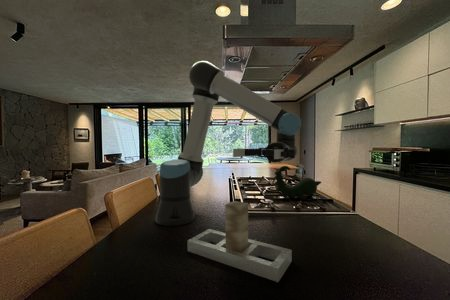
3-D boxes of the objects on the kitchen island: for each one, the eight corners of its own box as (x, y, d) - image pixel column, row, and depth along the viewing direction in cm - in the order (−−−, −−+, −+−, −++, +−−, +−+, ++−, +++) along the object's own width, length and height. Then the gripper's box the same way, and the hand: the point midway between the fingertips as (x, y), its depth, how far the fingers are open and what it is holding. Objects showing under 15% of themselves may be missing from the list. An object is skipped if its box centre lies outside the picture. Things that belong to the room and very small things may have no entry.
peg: (225, 257, 58) (225, 204, 57) (234, 250, 61) (233, 200, 61) (240, 262, 55) (240, 206, 55) (248, 254, 59) (248, 203, 59)
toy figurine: (279, 203, 117) (326, 199, 118) (276, 167, 117) (323, 163, 117) (275, 199, 127) (318, 195, 127) (272, 166, 126) (315, 161, 127)
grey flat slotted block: (187, 251, 61) (187, 240, 61) (209, 238, 70) (209, 228, 69) (278, 282, 47) (278, 268, 47) (291, 261, 55) (291, 249, 55)
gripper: (311, 163, 77) (295, 168, 59) (248, 160, 91) (219, 163, 73) (312, 142, 77) (296, 141, 59) (248, 142, 90) (219, 141, 73)
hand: (253, 153), depth 66 cm, fingers open, 13 cm apart
